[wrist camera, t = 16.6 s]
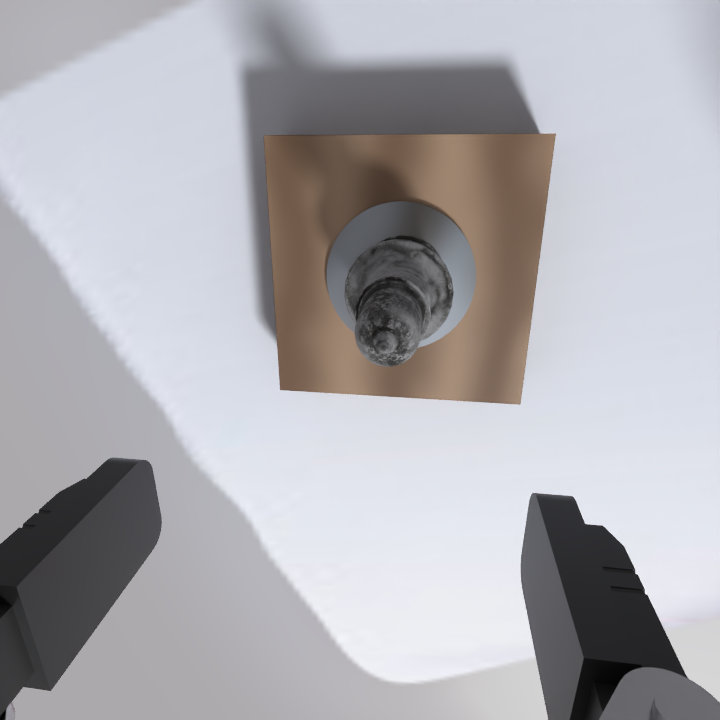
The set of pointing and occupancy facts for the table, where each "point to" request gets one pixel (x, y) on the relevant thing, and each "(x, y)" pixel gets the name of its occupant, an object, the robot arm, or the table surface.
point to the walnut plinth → (418, 219)
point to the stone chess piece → (397, 298)
